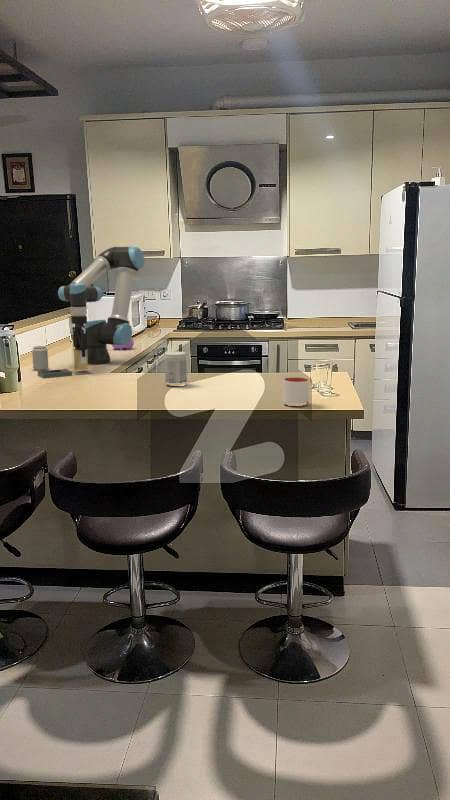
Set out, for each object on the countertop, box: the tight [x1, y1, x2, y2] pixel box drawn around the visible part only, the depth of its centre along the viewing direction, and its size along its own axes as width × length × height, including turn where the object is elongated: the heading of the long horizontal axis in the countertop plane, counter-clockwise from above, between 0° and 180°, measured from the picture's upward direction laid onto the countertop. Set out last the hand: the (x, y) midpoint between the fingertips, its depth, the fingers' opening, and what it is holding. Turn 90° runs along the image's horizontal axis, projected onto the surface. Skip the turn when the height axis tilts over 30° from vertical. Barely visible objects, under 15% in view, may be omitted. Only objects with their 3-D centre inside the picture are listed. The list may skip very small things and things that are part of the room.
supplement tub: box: [164, 351, 188, 383], centre depth 275 cm, size 10×10×15 cm
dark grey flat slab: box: [37, 368, 73, 379], centre depth 299 cm, size 14×9×2 cm, turn 124°
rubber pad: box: [72, 369, 93, 376], centre depth 307 cm, size 8×8×1 cm
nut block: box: [73, 348, 89, 371], centre depth 305 cm, size 5×5×10 cm
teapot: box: [111, 336, 135, 351], centre depth 390 cm, size 20×14×12 cm
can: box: [31, 345, 49, 372], centre depth 314 cm, size 8×8×12 cm
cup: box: [282, 376, 310, 403], centre depth 239 cm, size 10×10×10 cm
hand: (81, 362), depth 306 cm, fingers closed on nut block, 5 cm apart
